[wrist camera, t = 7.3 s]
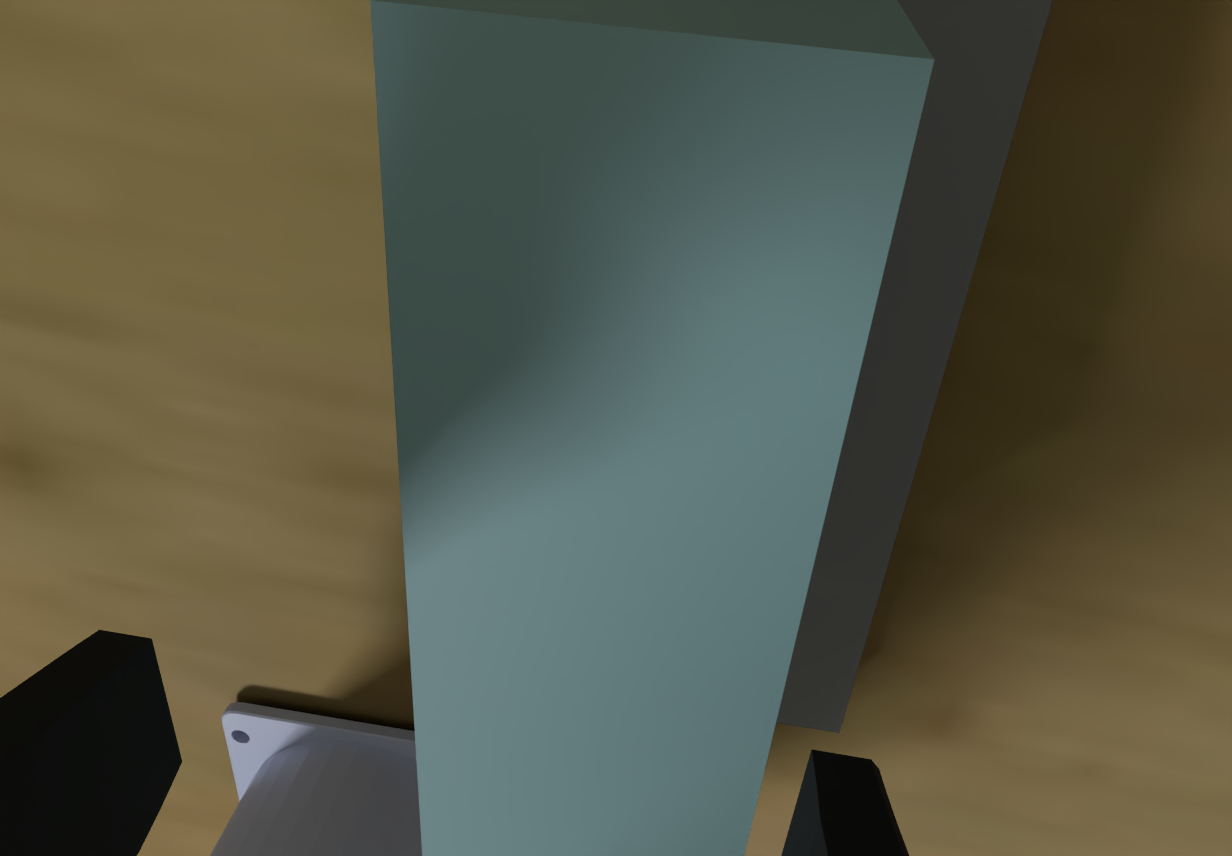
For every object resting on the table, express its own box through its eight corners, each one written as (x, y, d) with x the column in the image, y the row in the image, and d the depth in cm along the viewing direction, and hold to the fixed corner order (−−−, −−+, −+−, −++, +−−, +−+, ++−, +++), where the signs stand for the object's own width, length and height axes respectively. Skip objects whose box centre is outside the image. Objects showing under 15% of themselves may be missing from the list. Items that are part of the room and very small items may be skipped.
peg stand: (835, 683, 23) (849, 895, 19) (434, 620, 24) (351, 809, 20) (1082, -203, 14) (1234, -213, 9) (396, -259, 15) (216, -294, 10)
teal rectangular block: (721, 807, 18) (709, 1001, 15) (484, 767, 18) (427, 948, 15) (890, -10, 10) (935, 59, 7) (482, -50, 11) (371, 0, 8)
